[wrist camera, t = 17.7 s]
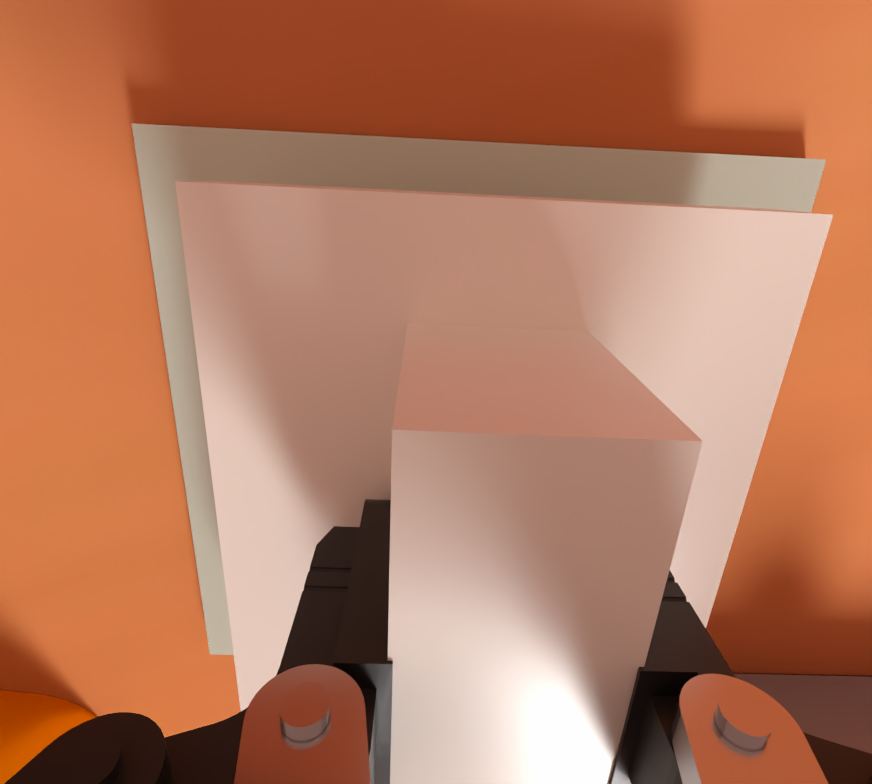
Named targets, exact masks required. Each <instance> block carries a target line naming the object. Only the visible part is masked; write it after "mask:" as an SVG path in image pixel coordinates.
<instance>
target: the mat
mask: <svg viewBox="0 0 872 784" xmlns="http://www.w3.org/2000/svg"><path fill="white" fill-rule="evenodd" d="M131 124H132V130H133V137H134V144H135V151H136V158H137V164H138V171H139V178H140V185H141V191H142V198H143V205H144V212H145V218H146V225H147V232H148V239H149V246H150V252H151V259H152V266H153V273H154V279H155V286H156V293H157V300H158V306H159V313H160V320H161V327H162V333H163V340H164V347H165V354H166V361H167V367H168V374H169V381H170V388H171V394H172V401H173V408H174V415H175V421H176V428H177V435H178V442H179V449H180V455H181V462H182V469H183V476H184V482H185V489H186V496H187V503H188V509H189V516H190V523H191V530H192V537H193V543H194V550H195V557H196V564H197V570H198V577H199V584H200V591H201V597H202V604H203V611H204V618H205V625H206V631H207V638H208V645H209V652H210V654H220V655H234V652H233V644H232V636H231V628H230V620H229V612H228V604H227V596H226V588H225V580H224V572H223V564H222V556H221V548H220V540H219V532H218V524H217V515H216V507H215V499H214V491H213V483H212V475H211V467H210V459H209V451H208V443H207V435H206V427H205V419H204V411H203V403H202V395H201V387H200V379H199V371H198V363H197V354H196V346H195V338H194V330H193V322H192V314H191V306H190V298H189V290H188V282H187V274H186V266H185V258H184V250H183V242H182V234H181V226H180V218H179V210H178V202H177V193H176V185H175V181H229V182H249V183H269V184H289V185H308V186H328V187H348V188H368V189H387V190H407V191H427V192H446V193H466V194H486V195H506V196H525V197H545V198H565V199H584V200H604V201H624V202H644V203H663V204H683V205H703V206H723V207H742V208H762V209H779V210H789V211H800V212H811V211H812V207H813V204H814V200H815V197H816V193H817V190H818V187H819V183H820V180H821V176H822V173H823V169H824V166H825V162H826V159H807V158H788V157H768V156H749V155H730V154H711V153H691V152H672V151H653V150H634V149H614V148H595V147H576V146H557V145H538V144H518V143H499V142H480V141H461V140H441V139H422V138H403V137H384V136H365V135H345V134H326V133H307V132H288V131H268V130H249V129H230V128H211V127H192V126H172V125H153V124H134V123H131Z"/></svg>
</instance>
